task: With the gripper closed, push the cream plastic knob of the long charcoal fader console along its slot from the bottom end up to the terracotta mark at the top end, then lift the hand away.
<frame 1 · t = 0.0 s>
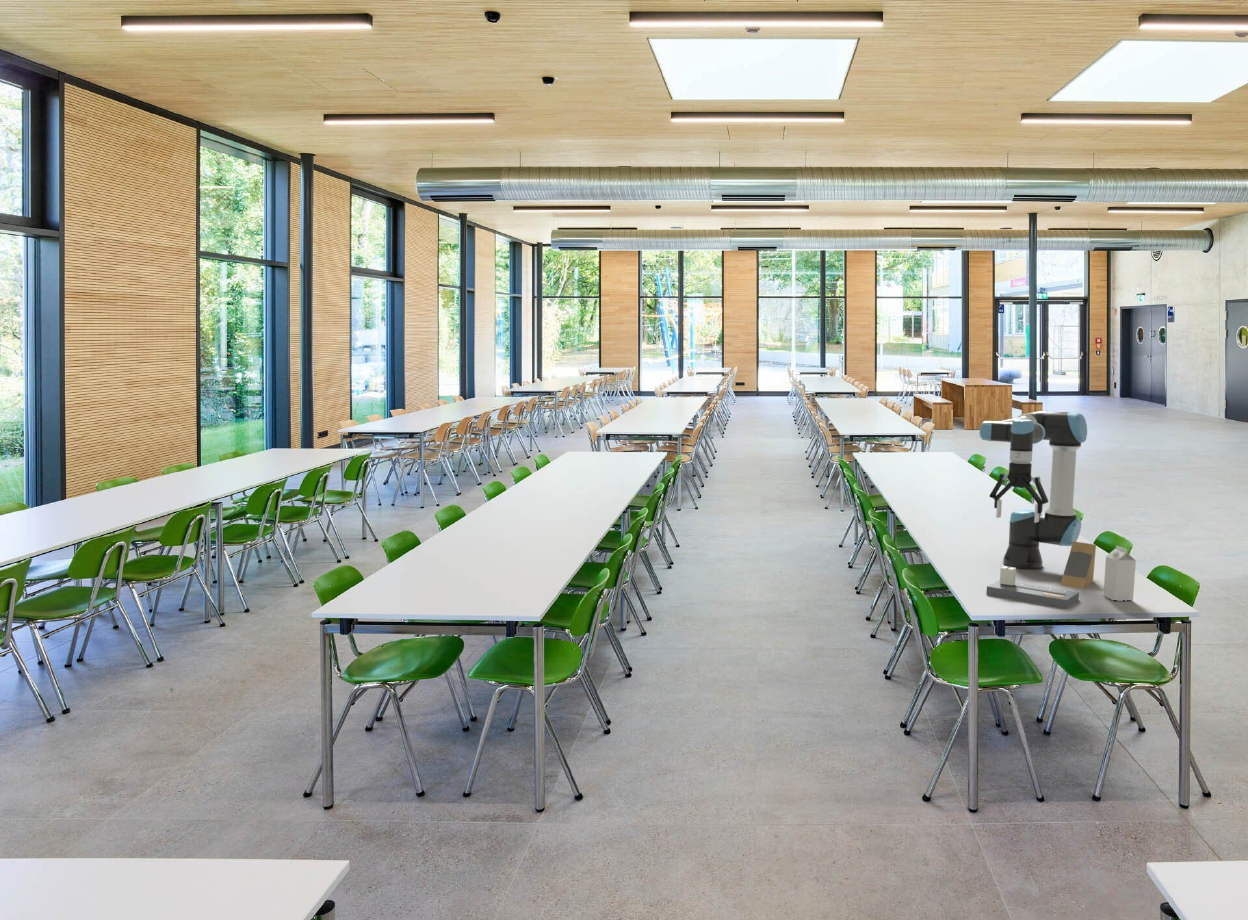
hand: (1017, 519, 345), 28 cm above the table, tool pointing down, fingers open, 13 cm apart
fader console: (1032, 597, 344), on the table
sandwich container: (1076, 584, 364), on the table
fader knob: (1007, 575, 349), point 7 cm above the table, slide at 0.0 cm
milk carton: (1117, 599, 343), on the table
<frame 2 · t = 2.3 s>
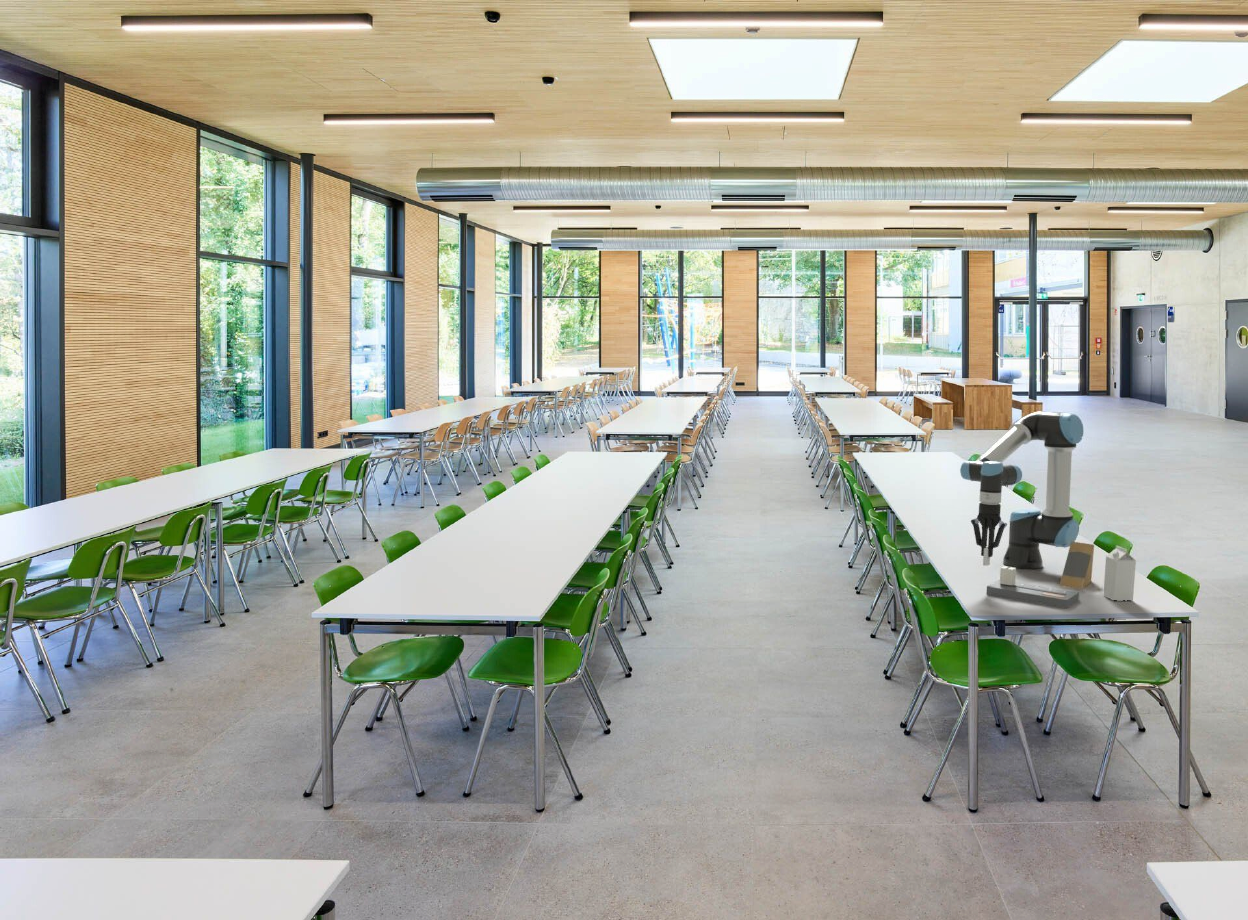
hand: (986, 564, 354), 9 cm above the table, tool pointing down, fingers closed
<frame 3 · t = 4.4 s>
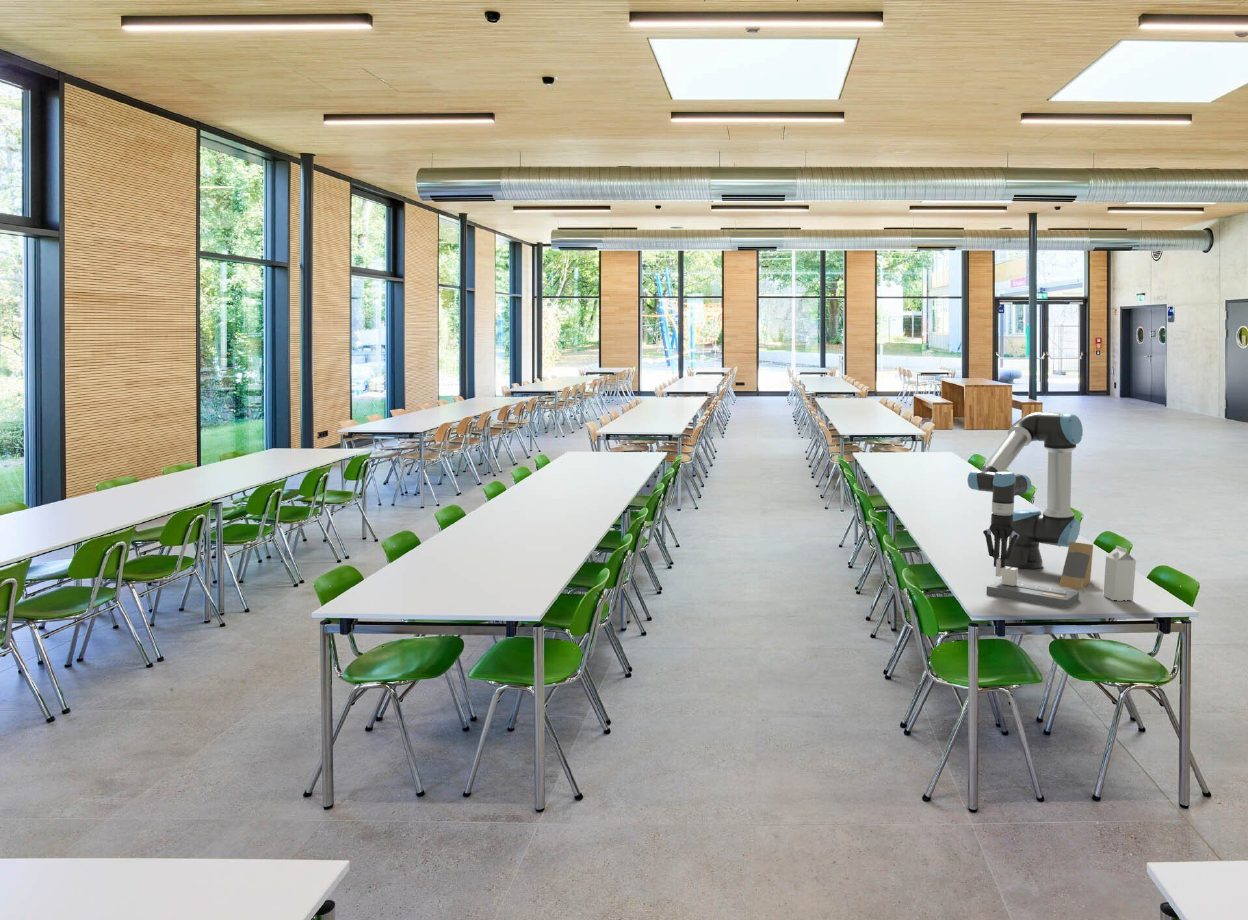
hand: (998, 575, 352), 6 cm above the table, tool pointing down, fingers closed
fader knob: (1009, 575, 349), point 7 cm above the table, slide at 0.7 cm, touching gripper
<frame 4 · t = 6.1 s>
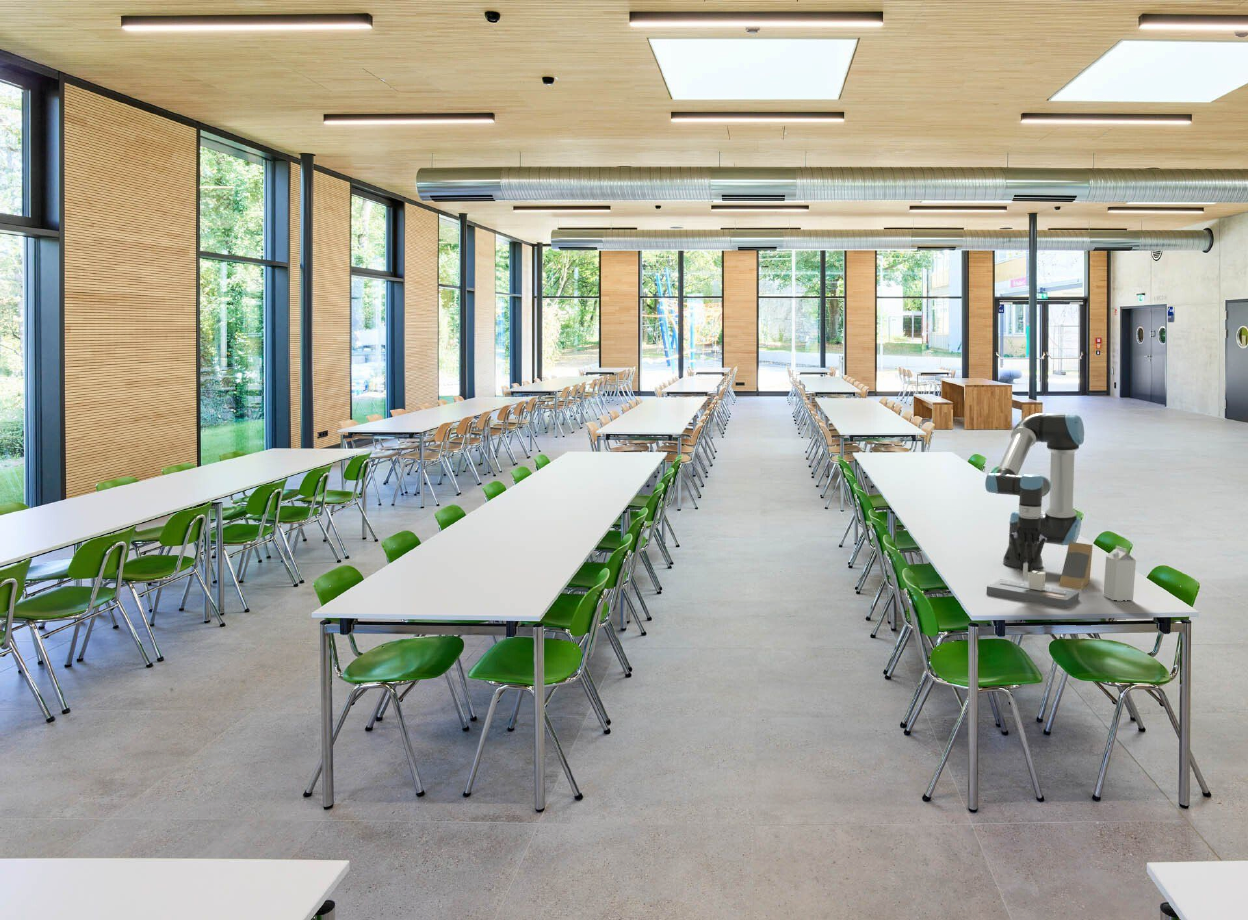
hand: (1025, 580, 345), 6 cm above the table, tool pointing down, fingers closed
fader knob: (1037, 580, 342), point 7 cm above the table, slide at 10.5 cm, touching gripper
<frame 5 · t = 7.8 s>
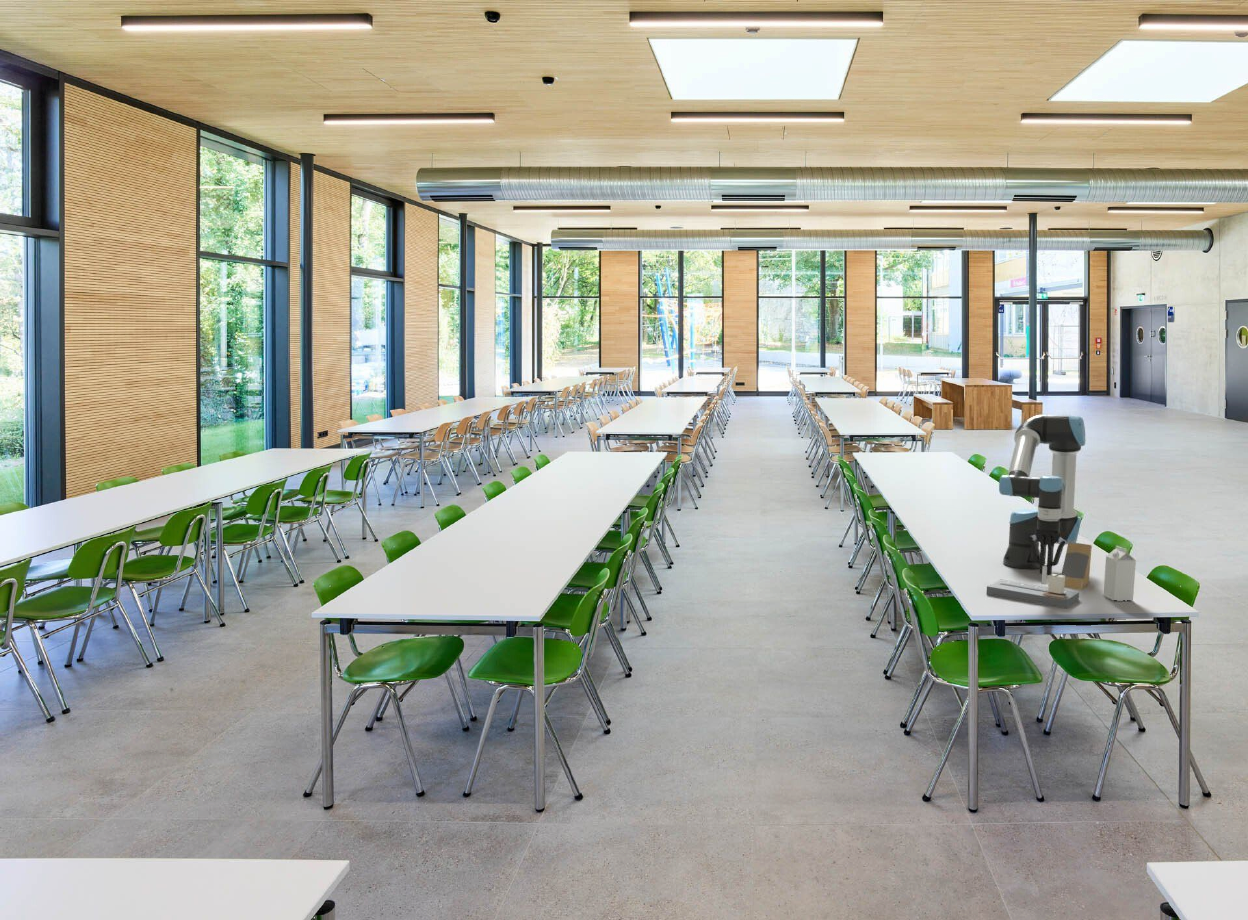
hand: (1044, 583, 341), 6 cm above the table, tool pointing down, fingers closed
fader knob: (1056, 583, 338), point 7 cm above the table, slide at 17.2 cm, touching gripper
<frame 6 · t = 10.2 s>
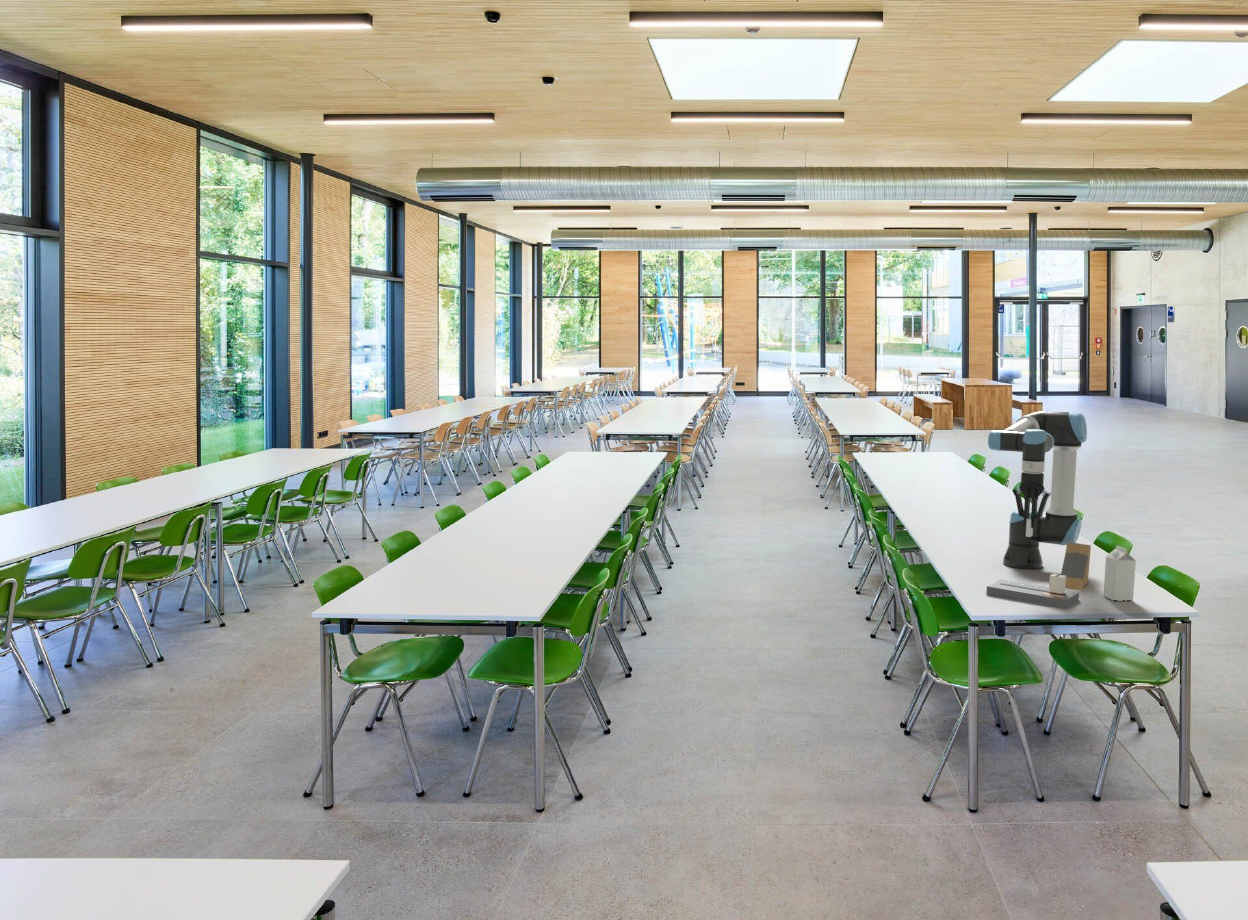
hand: (1029, 536, 344), 22 cm above the table, tool pointing down, fingers closed
fader knob: (1057, 583, 338), point 7 cm above the table, slide at 17.4 cm
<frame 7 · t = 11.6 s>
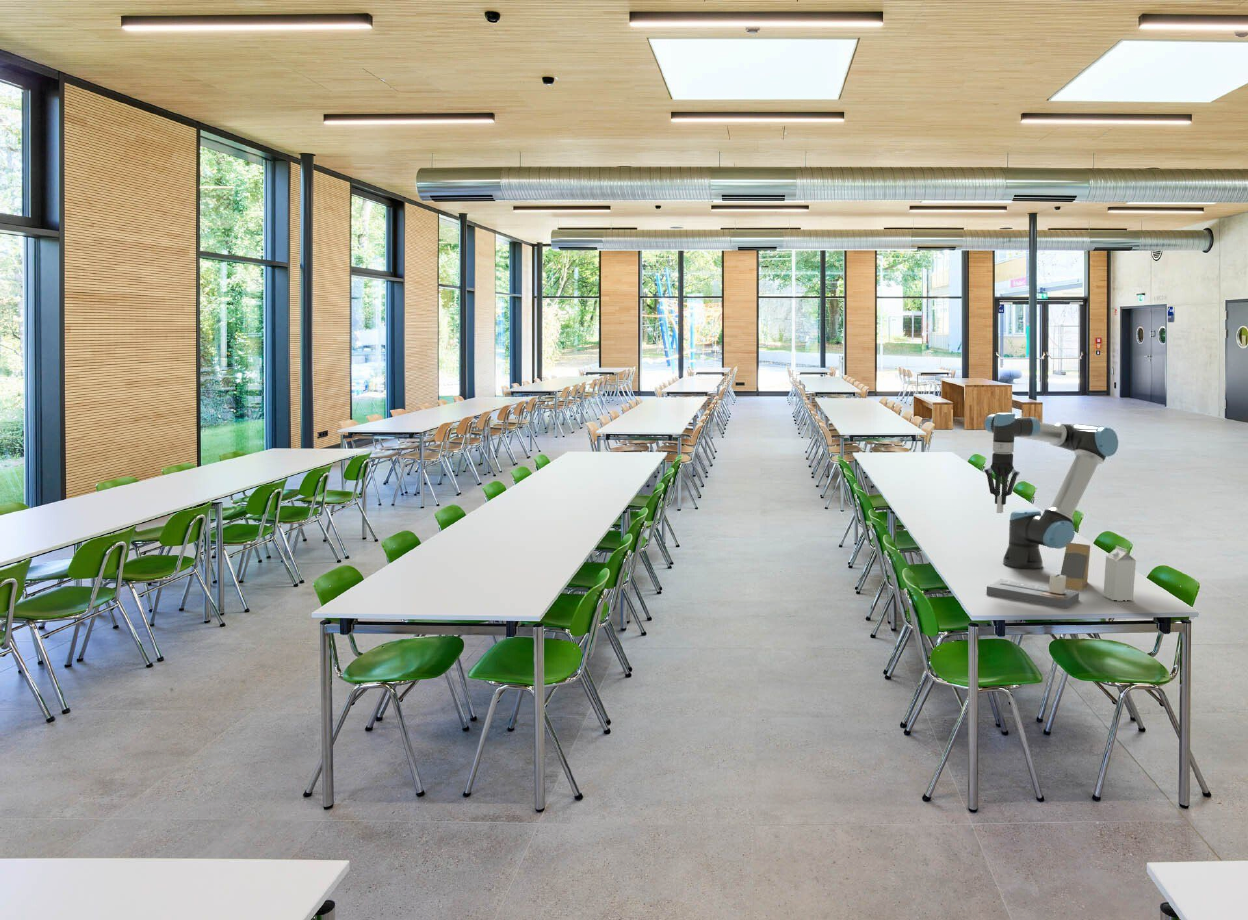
hand: (999, 512, 368), 26 cm above the table, tool pointing down, fingers closed
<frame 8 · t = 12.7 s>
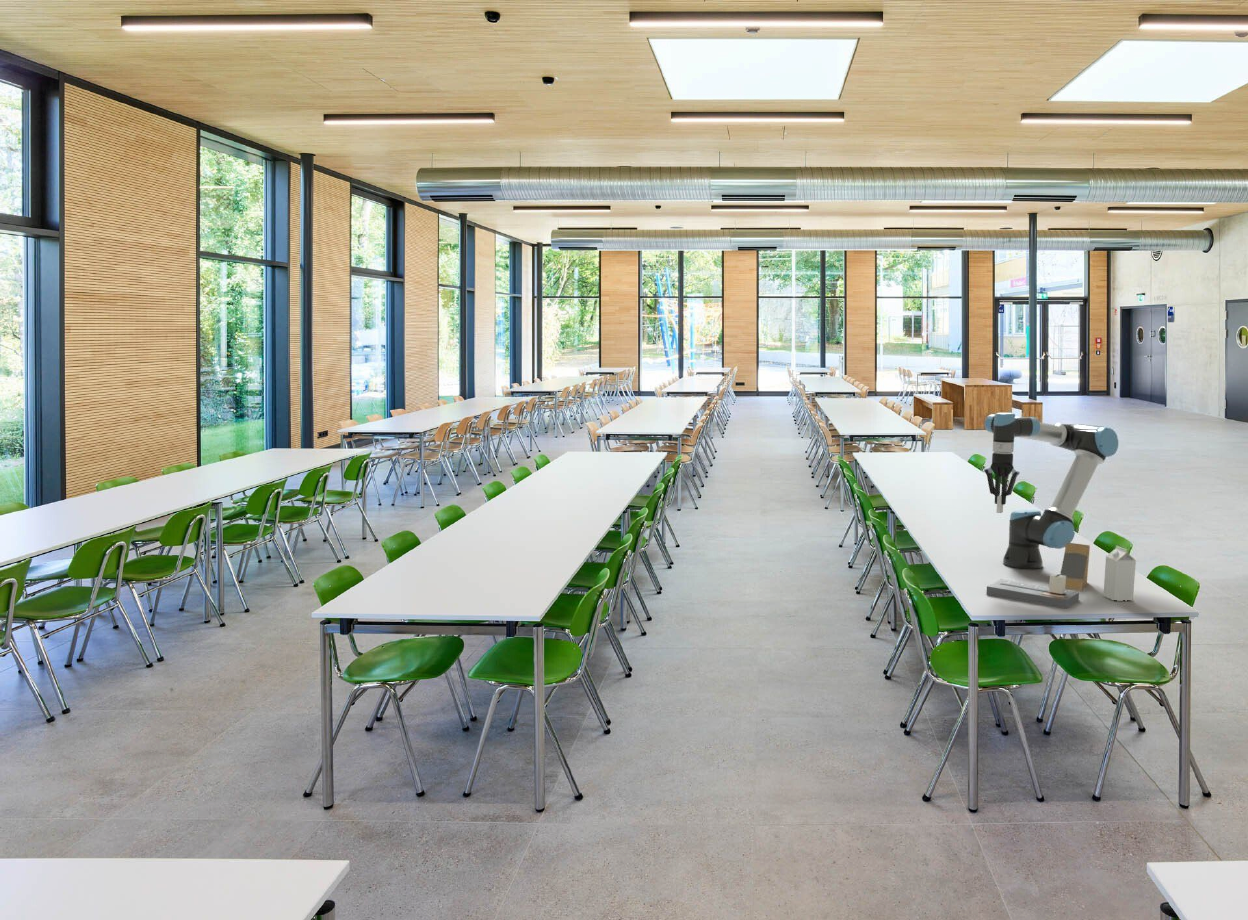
hand: (999, 512, 368), 26 cm above the table, tool pointing down, fingers closed
at the end: fader knob slide at 17.4 cm; milk carton moved 0.2 cm from its start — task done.
